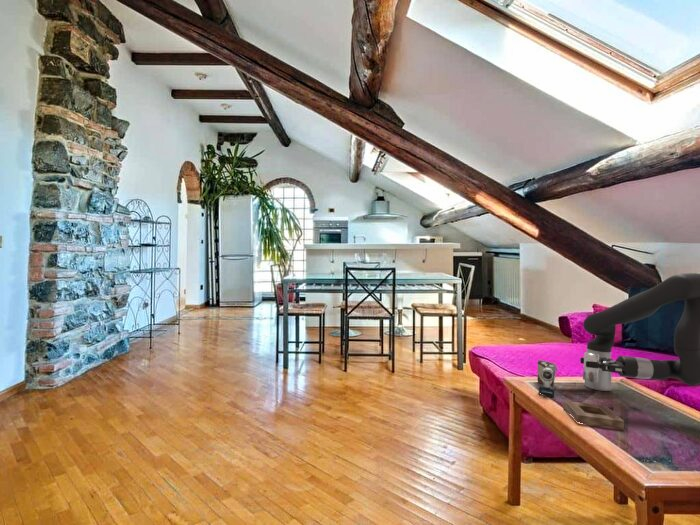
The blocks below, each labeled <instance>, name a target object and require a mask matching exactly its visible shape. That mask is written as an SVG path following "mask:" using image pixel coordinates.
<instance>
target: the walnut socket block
mask: <svg viewBox="0 0 700 525" xmlns="http://www.w3.org/2000/svg"><path fill="white" fill-rule="evenodd" d="M563 409H565V410H566V411H567V412H568V413H569V414H571V415H572V416H573V417H574V419H575V420H576V421H577V422H580V423H583V424H586V425H585V426H589V427H595V428H604V429H610V430H619V431H624V429H625V428H624V427H625V421H624V419H622V418H621V417H620V416H618V414H616V413H615V412H614V411H613V410H612V409H611V408H609V407H608V406H607V405H602V404H594V403H586V402H580V401H579V402H578V401H569V400H563ZM565 410H564V411H565ZM566 411H565V412H566ZM567 412H566V413H567ZM568 413H567V414H568ZM569 414H568V415H569Z"/></svg>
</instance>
